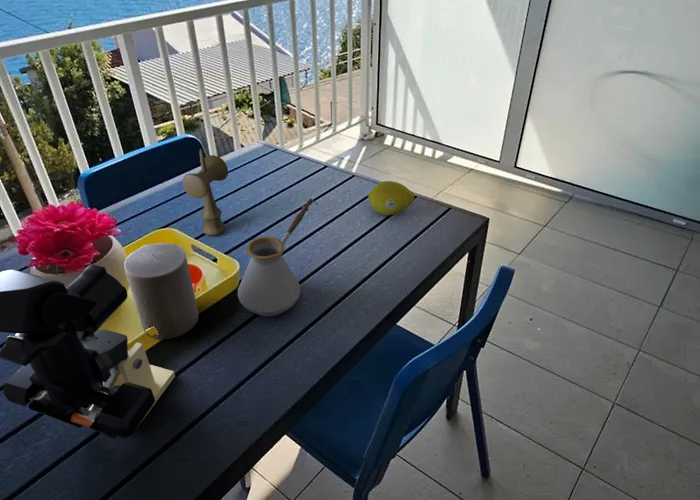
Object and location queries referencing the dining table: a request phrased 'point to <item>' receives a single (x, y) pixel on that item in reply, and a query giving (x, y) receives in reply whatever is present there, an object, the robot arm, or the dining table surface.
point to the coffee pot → (270, 275)
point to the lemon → (390, 198)
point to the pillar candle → (162, 289)
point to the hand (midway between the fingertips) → (99, 430)
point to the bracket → (143, 373)
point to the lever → (94, 411)
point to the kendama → (207, 191)
